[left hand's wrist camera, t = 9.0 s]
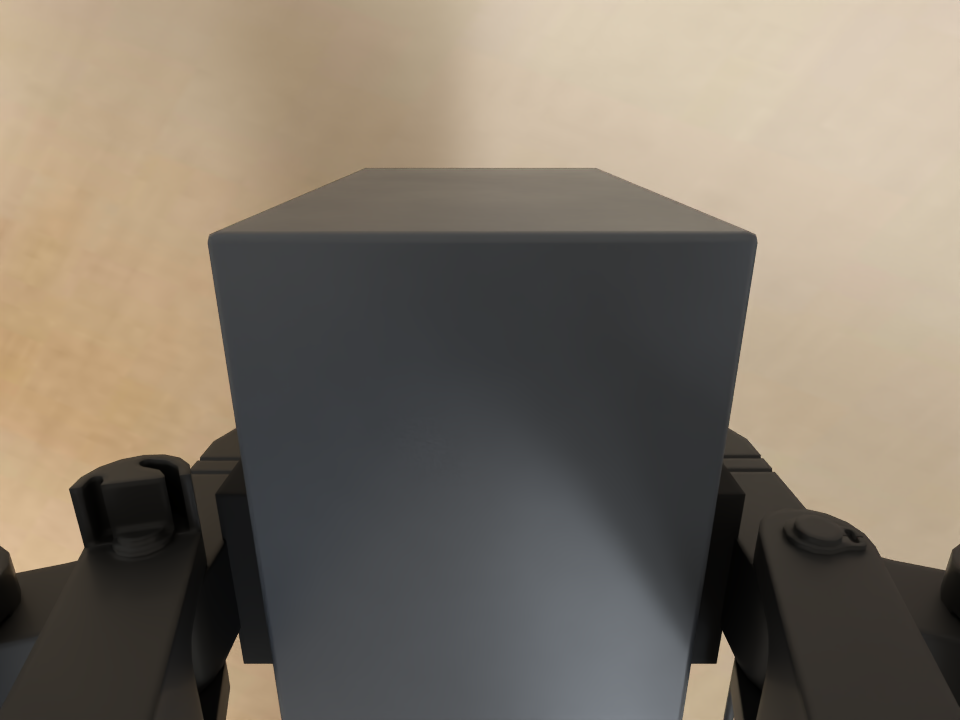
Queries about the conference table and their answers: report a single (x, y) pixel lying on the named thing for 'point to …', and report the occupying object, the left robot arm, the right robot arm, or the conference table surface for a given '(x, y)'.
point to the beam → (482, 438)
